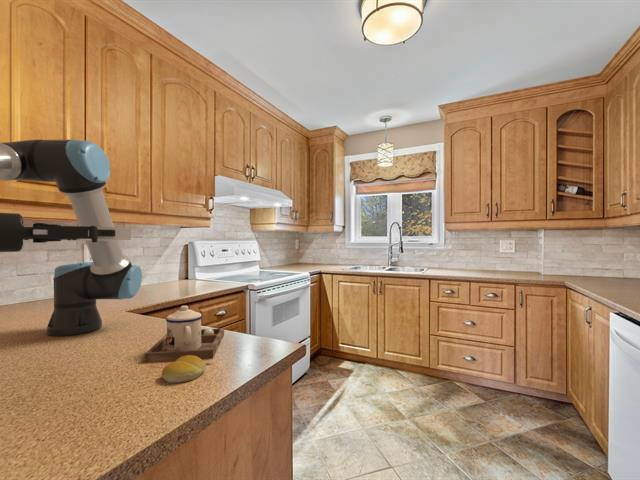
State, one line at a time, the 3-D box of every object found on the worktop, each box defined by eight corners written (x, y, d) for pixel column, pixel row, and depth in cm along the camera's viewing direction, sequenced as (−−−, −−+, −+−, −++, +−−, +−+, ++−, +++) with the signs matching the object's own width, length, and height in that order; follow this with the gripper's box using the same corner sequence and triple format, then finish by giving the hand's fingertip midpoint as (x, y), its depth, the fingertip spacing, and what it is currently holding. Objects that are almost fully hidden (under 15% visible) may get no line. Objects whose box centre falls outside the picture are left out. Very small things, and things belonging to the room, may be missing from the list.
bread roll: (154, 382, 69) (154, 364, 69) (181, 367, 77) (181, 350, 78) (187, 386, 67) (187, 367, 67) (211, 370, 75) (211, 353, 76)
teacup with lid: (164, 347, 89) (164, 305, 89) (198, 341, 93) (198, 302, 93) (169, 360, 78) (169, 313, 78) (207, 353, 83) (207, 309, 83)
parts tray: (170, 340, 98) (170, 330, 98) (224, 337, 101) (224, 328, 101) (144, 366, 77) (144, 353, 77) (213, 361, 80) (213, 349, 80)
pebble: (204, 337, 98) (204, 327, 98) (214, 336, 98) (214, 327, 98) (202, 340, 95) (202, 330, 95) (213, 339, 95) (213, 329, 95)
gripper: (-13, 251, 68) (102, 249, 85) (0, 253, 52) (140, 250, 68) (-13, 216, 68) (103, 221, 85) (0, 207, 52) (140, 215, 68)
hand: (119, 234), depth 77 cm, fingers open, 13 cm apart
